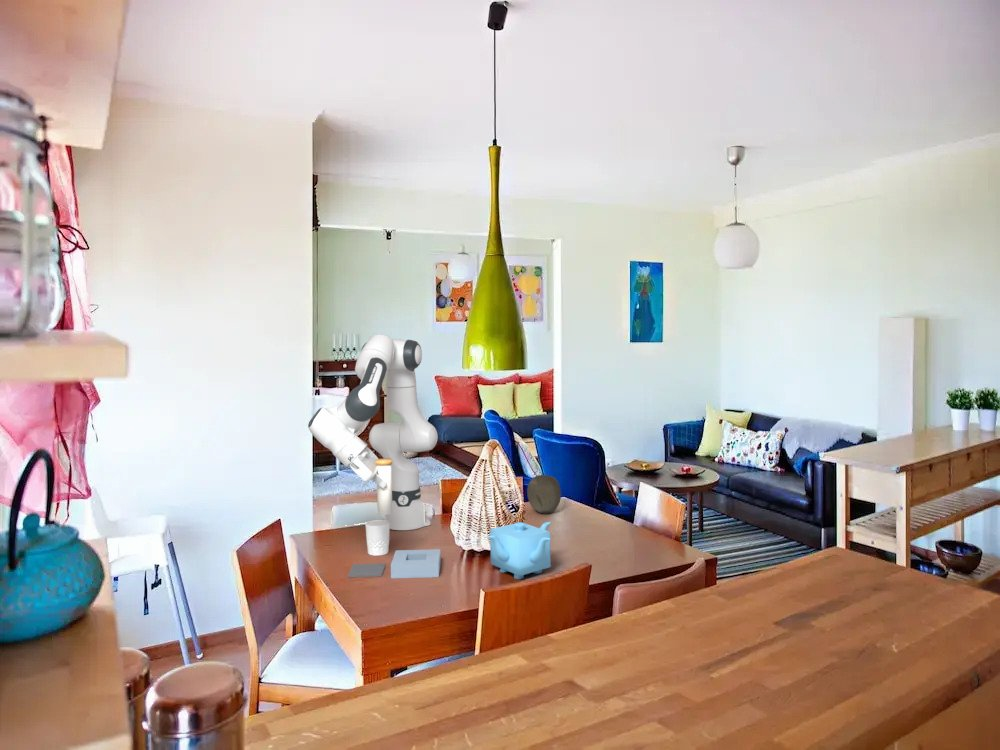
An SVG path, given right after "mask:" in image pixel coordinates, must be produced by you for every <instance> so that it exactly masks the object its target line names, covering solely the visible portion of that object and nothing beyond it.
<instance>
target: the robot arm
mask: <svg viewBox="0 0 1000 750" xmlns="http://www.w3.org/2000/svg"><path fill="white" fill-rule="evenodd" d="M422 352H423V351H422V347H421V345H420V343H419V342H418V341H416V340H412V339H401V338H399V339H398V338H395V339H394V338H391V337H390V336H388V335H386V334H382V333H378V334H374V335H372V336H371V337H370V338H369V339H368V341H367V342H365V343H364V344H363V345H362V347H361V350H360V352H359V355H358V357H357V359H356V362H355V367H354V372H355V375H356V376H357V378H358V379H360V383H359V384H358V385H357V386H355V387H354V388H352V390H351V391H350V392H349V394H348V395H347V396H346V397H345V398H344V400H343V401H342V403H340V404H339V405H336V406H333V407H323V406H322V407H320V408H319V409H318V410H317V411H316V412H315V413H314V414H313V416H312V417H311V419H310V420H309V421H308V425H307V427H308V430H309V432H310V433H311V434H312V436H313V437H314V438H315V439H316V440H317V441H318V442H319V443H320V444H321V445H322V446H324V447H325V448H327V450H329V451H330V452H331V453H332V455H333V456H334V457H335V458H336V459H337V460H338V461H339V462H340V463H341V464H343V465H344V466H345V467H348V466H349V467H350V469H351V470H352V471H353V472H354V473H355V474H356V475H357V476H358V477H359V478H360V479H361V480H362V481H363V482H364V483H366V484H368V483H369V482H371V481H372V482H374V483H376V485H377V484H379V485H380V486H381V487H382V488H384V487H385V486H386V484H387V482H386V481H385V480H384V479H382V478H381V477H379V475H378V474H377V471H378V469H377V465H376V463H375V460H377V459H379V458H378V456H377V454H375V453H374V452H373V451H372V450H371V449H370V447H368V443H367V442H366V441H365V440H362V439H361V438H360V437H358V435H356V434H357V433H358V432H359V431H360V430H361V429H362V428H363V427H364V426H365V425H366V424H367V423H368V422H369V421H370V419H373V417H374V416H377V415H376V414H378V412H379V410H380V406H381V405H380V404H381V403H380V402H381V401H380V400H381V399H380V391H381V388H382V386H383V382H384V379H386V380H385V383H386V384H385V385H386V389H385V391H386V405H387V407H388V409H389V410H390V411H391V412H393V413H394V414H396V415H398V416H399V417H400V418H401V420H402V422H383V423H382V422H381V423H378V424H377V423H376V424H374V425H373V426H372V427H371V429H370V431H369V433H368V434H369V435H368V440H369V444H370V445H371V448H373V450H375V451H376V453H378V454H380V456H381V457H382V459H392V464H391V472H392V514H388V515H384V520H387V521H389V522H390V530H393V531H394V530H395V531H410V530H417V529H421V528H423V527H428V526H430V525H432V523H431V520H430V519H429V517H428V515H427V512H426V511H425V507H426V506H425V502H424V501H423V500H422V499H421V495H422V491H421V487H420V470H419V469H420V468H419V467H418V465H417V464H416V463H415V462H413V461H411V460H409V459H408V458H407V457H406V456H405V454H404V453H421V452H422V453H423V452H428V451H432V450H433V449H434V448H435V447H436V445H437V442H438V439H439V438H438V437H439V436H438V435H439V434H438V431H437V429H436V427H435V426H434V425H433V424H432V423H430V422H429V421H428V420H427V419H426V418H425V417H424V415H423V414H422V412H421V409H420V406H419V402H418V394H417V379H416V378H417V377H416V371H415V370H416V369H418V367H419V366H420V364H421V363H422V359H423V353H422Z"/></svg>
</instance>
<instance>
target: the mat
mask: <svg viewBox="0 0 1000 750" xmlns="http://www.w3.org/2000/svg"><path fill="white" fill-rule="evenodd" d="M386 565H387V563H383V562H382V563H355V564H352V566H351V568H350V570H349V572H348V574H347V578H370V577H371V578H372V577H374V578H376V577H377V578H379V577H382V576H383V574H384V571H385V568H386Z"/></svg>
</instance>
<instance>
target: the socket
mask: <svg viewBox="0 0 1000 750" xmlns="http://www.w3.org/2000/svg"><path fill="white" fill-rule="evenodd" d="M441 554H442V553H441V549H439V548H437V549H436V548H433V549H405V550H404V549H401V550H400V549H399V550H398V549H396V550H395V552H394V555H393V558H392V560H391V563H390V579H411V578H412V579H414V578H417V579H418V578H420V579H422V578H439V577H440V571H441V562H442V561H441V556H442V555H441Z"/></svg>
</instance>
